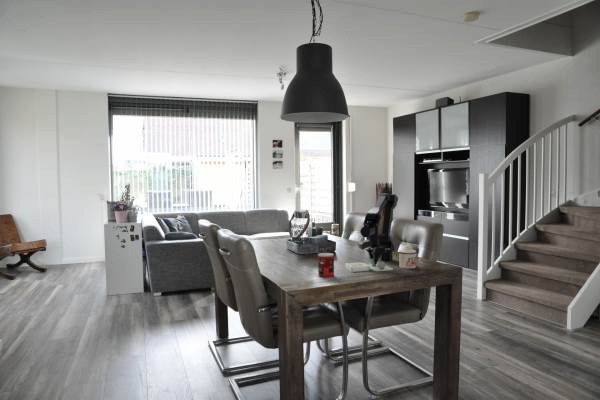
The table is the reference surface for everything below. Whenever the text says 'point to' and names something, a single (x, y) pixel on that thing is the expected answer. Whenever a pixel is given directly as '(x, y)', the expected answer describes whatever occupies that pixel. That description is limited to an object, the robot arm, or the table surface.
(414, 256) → the teacup with lid
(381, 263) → the pebble
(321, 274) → the canned food
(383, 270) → the tray
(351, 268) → the open box
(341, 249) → the table surface
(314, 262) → the table surface
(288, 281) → the table surface
